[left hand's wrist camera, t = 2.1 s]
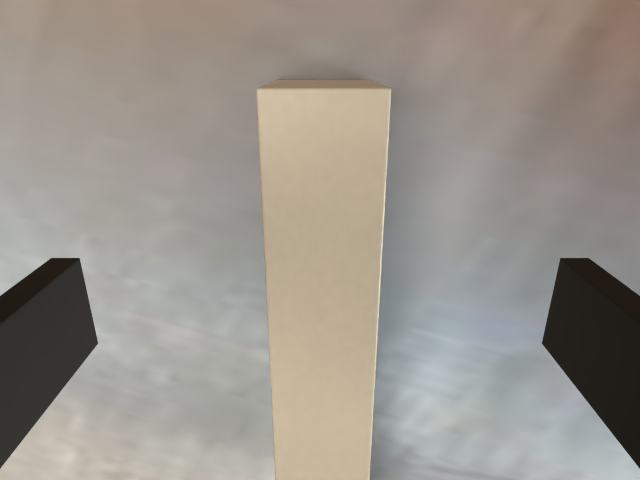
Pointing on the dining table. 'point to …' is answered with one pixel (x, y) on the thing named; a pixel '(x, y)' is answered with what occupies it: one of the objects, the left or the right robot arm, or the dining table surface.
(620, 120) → the dining table surface
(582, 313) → the left robot arm
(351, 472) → the post
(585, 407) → the dining table surface
